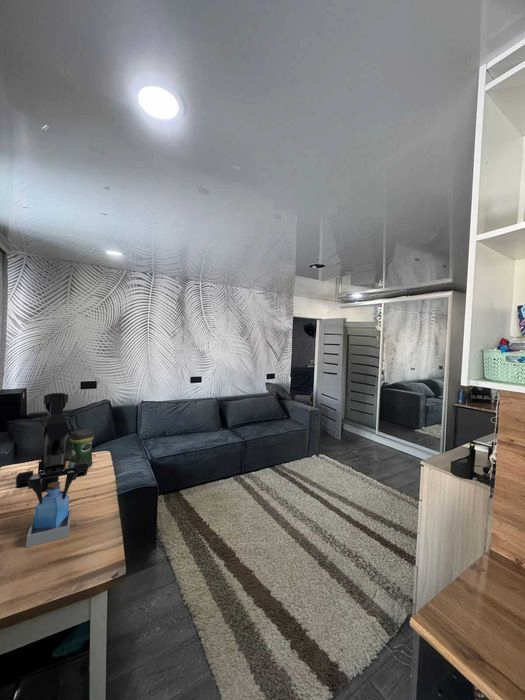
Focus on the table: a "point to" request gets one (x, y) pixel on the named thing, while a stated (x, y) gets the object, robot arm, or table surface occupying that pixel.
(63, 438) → the robot arm
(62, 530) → the tray
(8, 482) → the table surface
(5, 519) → the table surface
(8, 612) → the table surface
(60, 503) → the perfume bottle
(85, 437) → the coffee jar
